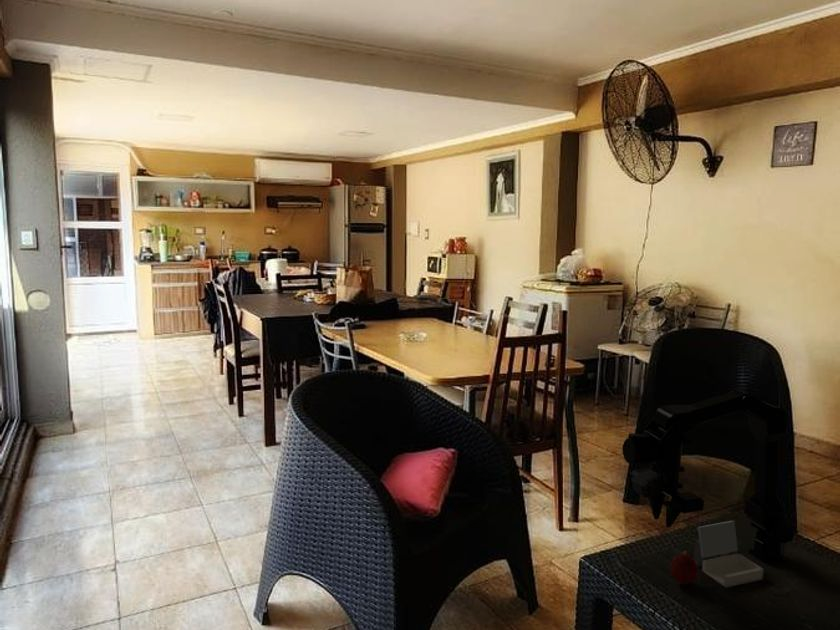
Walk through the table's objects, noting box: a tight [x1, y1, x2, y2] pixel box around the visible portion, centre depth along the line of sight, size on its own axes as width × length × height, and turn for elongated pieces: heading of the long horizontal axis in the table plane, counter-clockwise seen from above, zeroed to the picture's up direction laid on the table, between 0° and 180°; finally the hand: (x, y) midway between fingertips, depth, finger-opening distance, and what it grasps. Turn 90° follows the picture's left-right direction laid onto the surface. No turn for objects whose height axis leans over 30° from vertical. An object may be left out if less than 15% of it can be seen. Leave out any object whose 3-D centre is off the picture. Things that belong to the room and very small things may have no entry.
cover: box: [695, 520, 739, 559], centre depth 147 cm, size 11×7×1 cm
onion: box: [669, 550, 699, 585], centre depth 139 cm, size 6×6×8 cm
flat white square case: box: [693, 539, 765, 588], centre depth 144 cm, size 11×10×6 cm
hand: (662, 522), depth 145 cm, fingers open, 4 cm apart
